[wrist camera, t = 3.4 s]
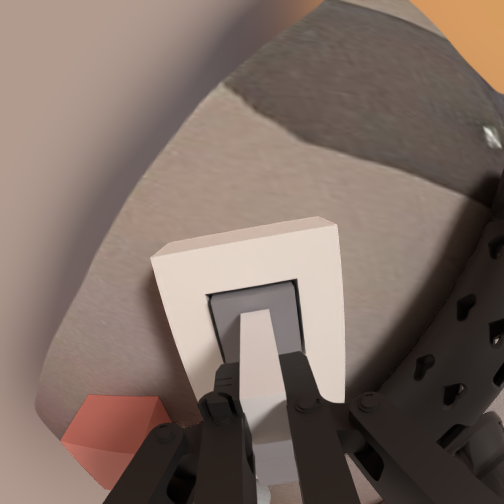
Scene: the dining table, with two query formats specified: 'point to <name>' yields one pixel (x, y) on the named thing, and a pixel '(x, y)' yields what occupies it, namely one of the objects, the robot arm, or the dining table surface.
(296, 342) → the button tagged
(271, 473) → the button plain
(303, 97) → the dining table surface
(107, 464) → the salmon red cube
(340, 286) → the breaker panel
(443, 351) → the muzzle brake
